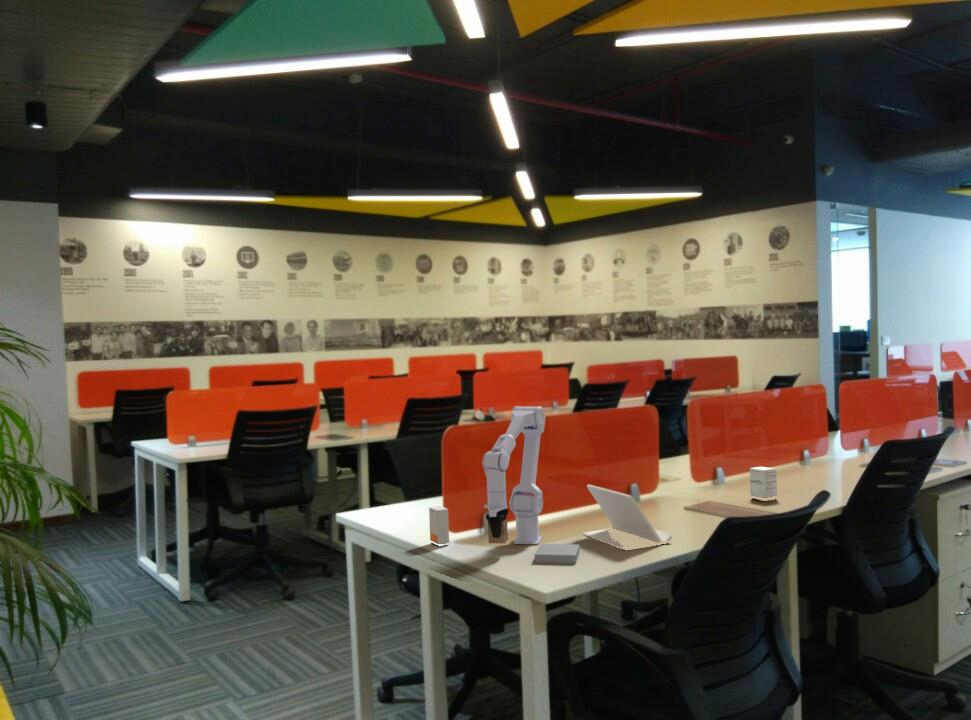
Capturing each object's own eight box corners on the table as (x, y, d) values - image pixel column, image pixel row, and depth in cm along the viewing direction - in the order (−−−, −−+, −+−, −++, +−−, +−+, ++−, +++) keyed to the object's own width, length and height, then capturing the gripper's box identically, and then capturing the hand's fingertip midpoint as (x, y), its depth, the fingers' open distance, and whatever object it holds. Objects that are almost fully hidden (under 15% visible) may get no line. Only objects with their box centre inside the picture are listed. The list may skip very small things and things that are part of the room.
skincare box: (429, 543, 250) (428, 507, 250) (441, 541, 252) (440, 505, 252) (438, 547, 245) (436, 510, 245) (449, 545, 247) (448, 508, 247)
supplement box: (749, 499, 303) (748, 467, 303) (763, 497, 307) (762, 465, 306) (764, 502, 297) (763, 470, 296) (778, 500, 300) (777, 468, 300)
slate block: (540, 553, 236) (540, 543, 236) (579, 554, 233) (579, 544, 233) (535, 564, 224) (534, 554, 224) (575, 565, 221) (575, 555, 221)
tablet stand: (626, 552, 233) (624, 496, 233) (582, 535, 256) (580, 484, 256) (673, 543, 241) (672, 490, 241) (626, 528, 264) (625, 479, 263)
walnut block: (492, 539, 235) (491, 519, 235) (507, 539, 234) (507, 519, 234) (488, 543, 230) (487, 523, 230) (504, 543, 229) (504, 523, 229)
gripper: (488, 486, 240) (490, 529, 240) (478, 495, 226) (480, 541, 226) (510, 486, 239) (512, 529, 239) (502, 495, 224) (503, 541, 225)
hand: (498, 535), depth 232 cm, fingers closed on walnut block, 5 cm apart
